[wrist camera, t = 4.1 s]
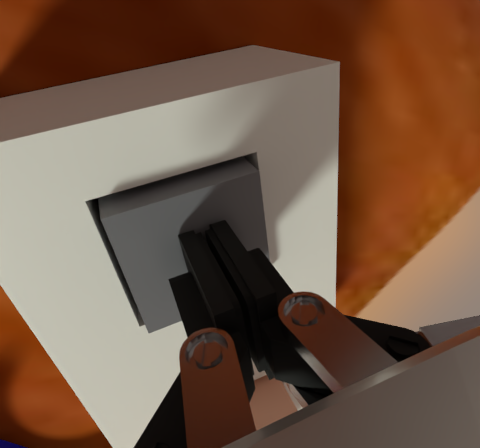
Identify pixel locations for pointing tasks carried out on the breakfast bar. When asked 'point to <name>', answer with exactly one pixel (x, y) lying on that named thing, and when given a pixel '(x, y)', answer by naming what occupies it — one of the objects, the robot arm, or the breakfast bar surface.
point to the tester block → (146, 171)
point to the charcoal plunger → (179, 227)
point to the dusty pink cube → (270, 402)
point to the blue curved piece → (9, 445)
